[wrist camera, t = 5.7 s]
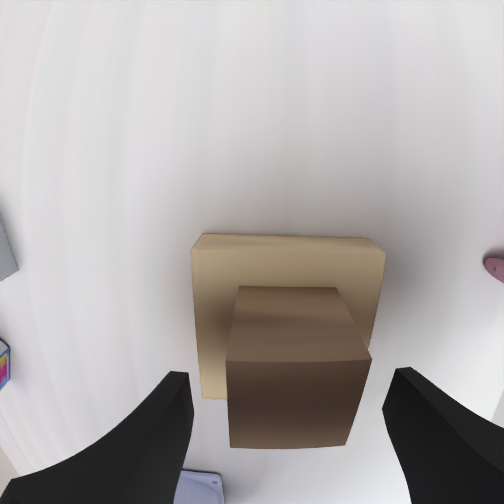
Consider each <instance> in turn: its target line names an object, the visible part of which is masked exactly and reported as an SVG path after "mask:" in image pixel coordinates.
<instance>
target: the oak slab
mask: <svg viewBox="0 0 504 504" xmlns="http://www.w3.org/2000/svg"><path fill="white" fill-rule="evenodd" d="M191 261H192V281H193V298H194V313H195V327H196V339H197V351H198V362H199V372H200V382H201V391H202V398H206V399H220V400H227V385H226V364H225V360H226V354H227V349H228V343H229V338H230V332H231V327H232V321H233V316H234V310H235V305H236V299H237V294H238V288H239V286H265V287H336V288H337V290H338V292H339V294H340V296H341V298H342V299H343V301H344V303H345V305H346V307H347V309H348V311H349V313H350V315H351V317H352V319H353V321H354V323H355V325H356V327H357V329H358V331H359V333H360V335H361V337H362V339H363V341H364V343H365V345H366V347H367V349H368V347H369V343H370V339H371V334H372V330H373V326H374V321H375V316H376V311H377V306H378V301H379V296H380V291H381V285H382V280H383V274H384V267H385V261H386V254H385V253H384V252H383V251H382V250H381V249H380V248H378V247H377V246H376V245H375V244H374V243H372V242H371V241H370V240H369V239H367V238H345V237H315V236H281V235H241V234H202V235H201V236H200V238H199V239H198V240H197V242H196V243H195V245H194V246H193V247H192V249H191Z"/></svg>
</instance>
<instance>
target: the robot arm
mask: <svg viewBox="0 0 504 504" xmlns="http://www.w3.org/2000/svg"><path fill="white" fill-rule="evenodd" d="M382 411H383V415H384V420H385V424H386V427H387V431H388V434H389V437H390V439H391V442H392V444H393V447H394V449H395V452H396V454H397V457H398V460H399V462H400V465H401V467H402V470H403V473H404V475H405V478H406V481H407V485H408V489H409V494H410V498H411V503H412V504H504V428H502V427H500V426H498V425H495V424H493V423H492V422H490V421H488V420H486V419H484V418H482V417H480V416H479V415H477V414H475V413H474V412H472V411H470V410H469V409H467V408H466V407H464V406H463V405H461V404H460V403H458V402H457V401H456V400H454V399H453V398H451V397H450V396H449V395H447V394H446V393H445V392H443V391H442V390H441V389H439V388H438V387H437V386H435V385H434V384H433V383H432V382H430V381H429V380H428V379H426V378H425V377H424V376H422V375H421V374H420V373H418V372H417V371H416V370H414V369H413V368H411V367H405V368H397V369H395V373H394V376H393V379H392V382H391V385H390V388H389V390H388V393H387V396H386V399H385V401H384V404H383V407H382ZM193 419H194V408H193V402H192V395H191V388H190V382H189V374H188V372H176V371H170V372H169V373H168V374H167V375H166V376H165V377H164V379H163V380H162V381H161V382H160V383H159V384H158V385H157V387H156V388H155V389H154V390H153V391H152V392H151V393H150V394H149V395H148V396H147V397H146V399H145V400H144V401H143V402H142V403H141V404H140V405H139V406H138V407H137V408H136V409H135V410H134V411H133V412H132V413H131V414H129V415H128V416H127V417H126V418H125V419H124V420H123V421H122V422H121V423H119V424H118V425H117V426H116V427H115V428H114V429H112V430H111V431H110V432H109V433H107V434H106V435H105V436H103V437H102V438H101V439H99V440H98V441H96V442H95V443H93V444H92V445H90V446H89V447H87V448H86V449H84V450H82V451H81V452H79V453H77V454H75V455H74V456H72V457H70V458H68V459H66V460H64V461H62V462H60V463H58V464H55V465H53V466H51V467H48V468H46V469H43V470H41V471H38V472H35V473H32V474H28V475H25V476H22V477H18V478H14V479H11V481H10V482H9V484H8V485H7V487H6V489H5V490H4V492H3V494H2V496H1V498H0V504H225V502H224V495H223V489H222V482H221V477H220V476H219V475H217V474H209V473H199V472H190V471H182V467H183V463H184V460H185V456H186V453H187V449H188V445H189V442H190V438H191V432H192V426H193Z"/></svg>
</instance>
